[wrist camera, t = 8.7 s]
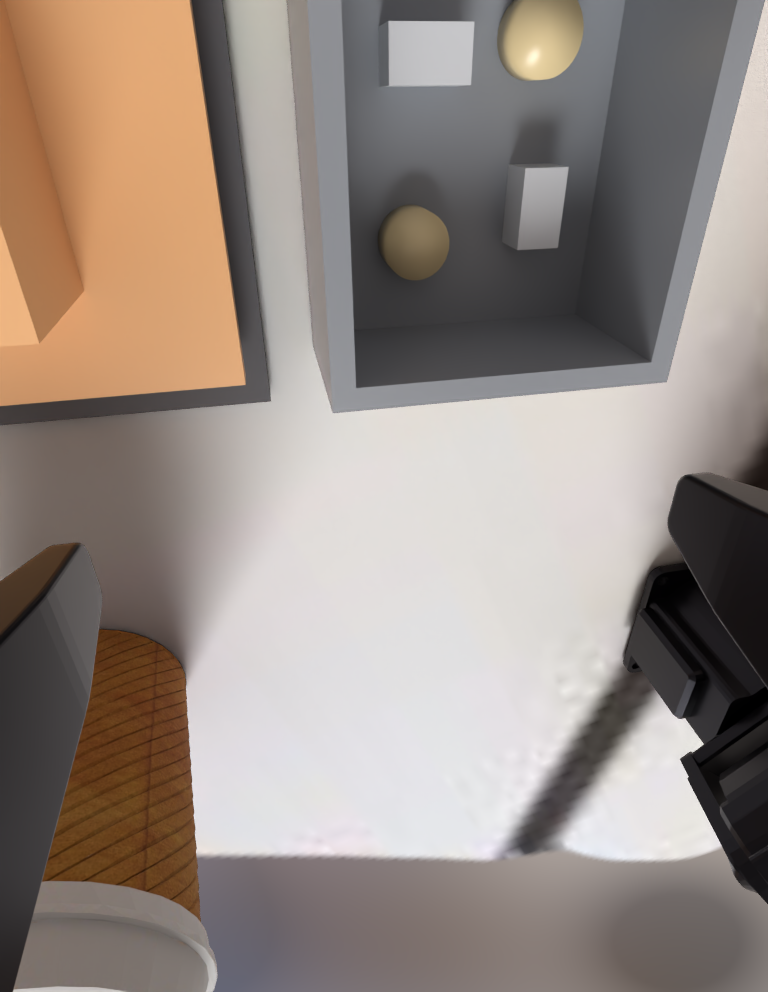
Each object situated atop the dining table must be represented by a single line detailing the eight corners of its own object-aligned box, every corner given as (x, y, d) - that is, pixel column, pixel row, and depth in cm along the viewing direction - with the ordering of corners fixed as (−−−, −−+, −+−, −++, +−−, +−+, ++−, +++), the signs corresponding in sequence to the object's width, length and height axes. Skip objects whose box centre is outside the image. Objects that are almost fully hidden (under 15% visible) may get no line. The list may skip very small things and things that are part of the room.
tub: (657, -134, 14) (823, -229, 10) (581, 325, 20) (666, 382, 16) (274, -154, 13) (290, -273, 9) (313, 346, 19) (332, 413, 15)
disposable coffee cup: (54, 781, 27) (-52, 1164, 18) (-85, 642, 22) (-352, 1081, 12) (257, 717, 28) (266, 1057, 18) (168, 564, 22) (110, 930, 12)
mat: (189, -266, 12) (188, -279, 12) (270, 394, 20) (270, 401, 19) (-483, -319, 10) (-512, -336, 10) (-108, 428, 18) (-117, 435, 17)
